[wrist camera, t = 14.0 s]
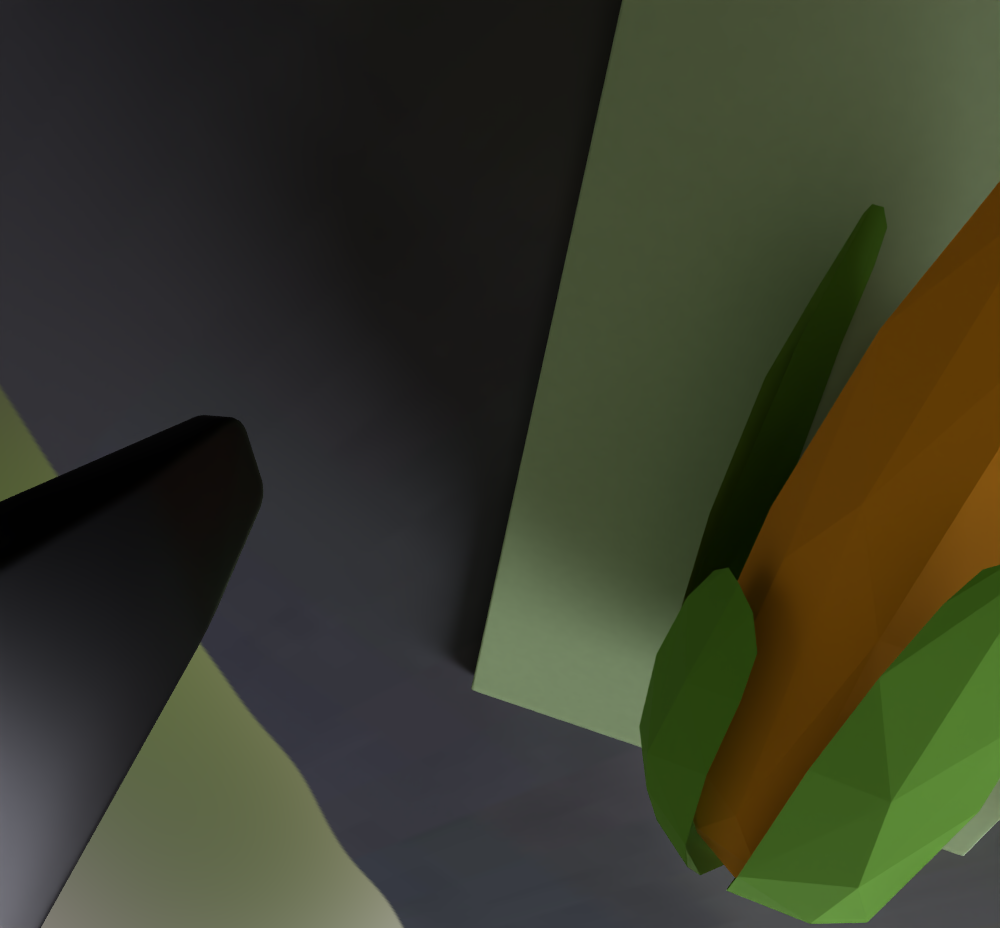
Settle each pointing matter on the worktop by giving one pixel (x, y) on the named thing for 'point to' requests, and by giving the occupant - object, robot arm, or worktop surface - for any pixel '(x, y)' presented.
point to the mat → (717, 301)
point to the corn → (846, 603)
